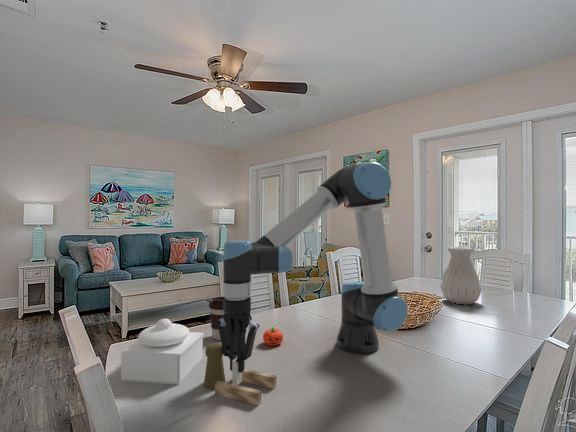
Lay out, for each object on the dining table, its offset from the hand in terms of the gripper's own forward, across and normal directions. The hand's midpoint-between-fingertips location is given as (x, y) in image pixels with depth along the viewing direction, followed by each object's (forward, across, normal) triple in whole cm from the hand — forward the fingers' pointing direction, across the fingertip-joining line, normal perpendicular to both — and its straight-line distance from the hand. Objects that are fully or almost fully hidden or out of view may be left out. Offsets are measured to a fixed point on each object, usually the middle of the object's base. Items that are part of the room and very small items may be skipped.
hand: (237, 382), depth 93 cm
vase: (+2, -62, -128) cm, 143 cm away
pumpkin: (+2, +5, -33) cm, 33 cm away
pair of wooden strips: (+1, -3, 0) cm, 3 cm away
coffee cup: (+2, +26, -30) cm, 40 cm away
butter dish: (+2, +26, -1) cm, 26 cm away
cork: (+2, +7, +1) cm, 7 cm away
